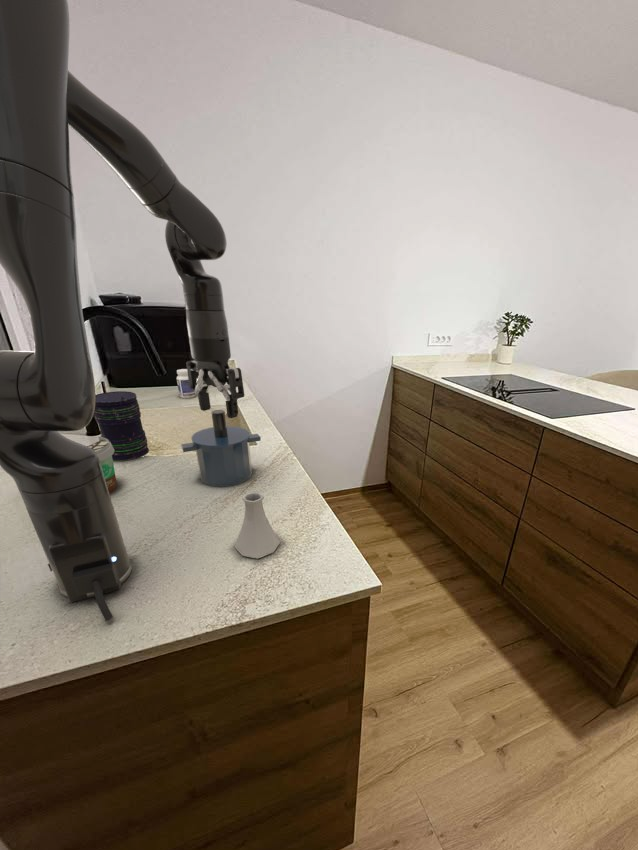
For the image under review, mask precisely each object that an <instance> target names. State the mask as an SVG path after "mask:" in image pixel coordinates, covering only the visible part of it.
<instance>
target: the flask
mask: <svg viewBox="0 0 638 850" xmlns="http://www.w3.org/2000/svg"><path fill="white" fill-rule="evenodd" d="M264 499H265V495H263V494H262V493H261V492H257V491H251V492H248V493H246V494H244V496H242V501H243V502H244V516H243V517H244V518H243V520H242V524H241V527H240V530H239V534H238V537H237V539H236V543H235V546H234V548H235V549H236V550H237V551H238V552H239V554H240V555H241V557H247V558H253V559H257V560H259V559H260V558H263V557H266V556H268V555H270V554H273V553H274V552H275V551H276V550H277V547H279V545H280V544H281V541H280V539H279V537H278V536H277V534H276V532H275V531H274V528H273V527H272V525H271V523H270V521H269V519H268V517H267V516H266V512H265V509H264V506H263V505H264V503H263V501H264Z"/></svg>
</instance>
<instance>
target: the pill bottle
mask: <svg viewBox="0 0 638 850" xmlns="http://www.w3.org/2000/svg"><path fill="white" fill-rule="evenodd" d="M176 374H177V376H176V383H177V389H178V395H179V397H180V398H182V399H191V398H194V397H196V395H197V393H196V392H195V390H194V389H190V387H189V380H188V372H187V368H181V369H180V368H179V369H177V370H176Z"/></svg>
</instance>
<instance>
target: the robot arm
mask: <svg viewBox="0 0 638 850" xmlns="http://www.w3.org/2000/svg"><path fill="white" fill-rule="evenodd" d="M69 52H70V10H69V3H68V0H0V266H1V267H2V268H3V270H4V271H5V273H6V274H7V275H8V277H9V278H10V279H11V281H12V282H13V284H14V286H16V288H17V289H18V291H19V293H20V294H21V296H22V299H23V300H24V302H25V303H24V304H25V305H26V308H27V311H28V314H29V317H30V322H31V328H32V334H33V335H32V336H33V341H34V342H33V343H34V344H33V345H34V351H30V350H28V351H27V350H23V351H22V350H0V467H1V469H2V470H3V471H4V472H6V474H7V475H9V476H10V477H11V478H12V479H13V481H14V482H15V485H16V487H17V491H18V492H19V494H20V496H21V499H22V502H23V504H24V505H25V509H26V511H27V513H28V516H29V519H30V521H31V523H32V525H33V528H34V530H35V533H36V535H37V538H38V540H39V542H40V545H41V547H42V550H43V552H44V554H45V557H46V559H47V561H48V564H47V567H48V568H49V571H50V572H52V573H53V575H54V578H55V579H56V582H57V587H58V589H59V592H60V593H61V595H63V596H64V597H66V598H68V601H69V603H75V602H78V601H82V600H86V599H89V598H94V599H95V601H96V604H97V606H98V608H99V611H100V613H101V615H102V616H103V618H104V620H105V622H107V621H109V620H111V619H113V618H114V616H113V614H112V612H111V610H110V608H109V606H108V603H107V602H106V599H105V596H104V594H107V593H111V592H114V591H115V592H116V591H118V590H120V589H121V587H122V586H121V585H122V584H123V583H124V582H125V581H126V580H127V579H128V578H129V576H130V575H131V573H132V571H133V566H132V565H133V564H132V561H131V559H130V558H129V553H128V551H127V547H126V545H125V541H124V538H123V535H122V532H121V528H120V524H119V522H118V521H119V520H118V518H117V515H116V511H115V508H114V505H113V502H112V499H111V495H110V494H111V493H109V491H108V488H107V484H106V481H105V477H104V474H103V471H102V467H101V463H100V460H99V457H98V455H97V453H96V452H95V451H94V450H93V449H91V448H89V447H87V446H88V445H85V444H82V443H79V442H76V441H74V440H72V439H70V438H68V437H66V436H64V435H63V434H61V432H75V431H81V430H83V429H85V428H86V427H87V426H89V424H90V423H91V421H92V419H93V418H94V410H95V401H96V395H97V394H96V384H95V377H94V371H93V365H92V357H91V354H90V348H89V342H88V335H87V330H86V324H85V318H84V312H83V305H82V304H83V303H82V295H81V285H80V284H81V283H80V275H79V261H78V260H79V259H78V241H77V240H78V239H77V238H78V237H77V222H76V221H77V220H76V219H77V218H76V208H75V195H74V187H73V179H72V168H71V167H72V166H71V149H70V148H71V147H70V133H69V132H70V131H69V130H70V129H72V131H73V132H75V133H76V135H78V136H79V137H80V138H81V139H82V140H83V141H84V142H85V143H86V144H87V145H88V146H89V147H90V148H91V149H92V150H93V151H94V152H95V153H96V154H97V155H98V156H99V157H100V158H101V159H102V160H103V162H105V163H106V165H107V166H108V167H109V168H110V169H111V170H112V171H113V173H115V175H116V176H117V177H118V178H119V179H120V181H121V182H122V183H123V184H124V186H126V187H127V189H128V190H129V191H130V192H131V193H132V195H133V196H134V197H135V198H136V199H137V200H138V202H139V203H140V204H141V205H142V206H143V207H144V208H145V209H146V210H147V212H148V213H150V214H151V215H152V216H153V217H155V218H158V219H162V220H165V221H167V222H166V225H165V229H164V237H165V239H164V240H165V244H166V248H167V251H168V253H169V256H170V258H171V260H172V264H173V266H174V269H175V272H176V274H177V276H178V278H179V281H180V283H181V286H182V292H183V298H184V306H185V312H186V313H185V317H186V319H185V320H186V328H187V335H188V342H189V347H190V355H191V358H192V360H187V361H186V369H187V372H188V380H189V387H190V389H194V390H195V394H196V395H197V399H198V404H199V409H200V410H201V411H202V412H206V411H209V410H211V408H212V406H211V398H210V392H208V391H209V389H210V387H211V386H212V387H214V388H217V390H218V392H220V393H222V396H223V397H224V399H225V408H226V417H227V418H228V419H234V418H237V417H238V415H239V407H238V399H243V398H244V397H245V388H244V382H243V375H242V369H241V368H240V367H233V368H230V366H229V360H230V359H231V357H232V353H231V345H230V335H229V327H228V326H229V325H228V320H227V316H226V310H225V302H224V294H223V287H222V283H221V280H220V279H219V278H218V277H216V276H214V275H211V274H208V273H207V272H206V270H205V268H204V266H203V263H202V261H216V260H218V259H221V258H222V257H223V256H225V253H226V252H227V251H226V250H227V235H226V232H225V230H224V228H223V226H222V224H221V222H220V220H219V218H218V217H217V216H216V215H215V213H213V211H211V210H210V208H208V206H207V205H206V204H204V203H203V201H201V200H200V199H199V198H198V197H197V196H196V195H195V194H194V193H193V192H192V191H191V190H190V189H188V188H187V187H186V186H185V185H184V184H183V183H181V181H180V180H179V179H178V177H177V176H176V174H175V173H174V171H173V170H172V168H171V167H170V166H169V164H168V163H167V162H166V160H165V158H164V157H163V156H162V154H161V153H160V152H159V149H157V148H156V146H155V145H154V144H153V143H152V142H151V140H150V139H149V138H148V137H147V136H146V135H145V134H144V133H143V132H142V131H141V130H140V129H139V128H138V127H137V126H136V125H135V124H134V123H132V122H131V121H130V120H128V119H127V118H126V117H125V116H124V115H122V114H121V113H120V112H119V111H117V110H116V109H114V107H112V106H110V105H109V104H108V103H106V102H105V101H104V100H102V99H101V98H100V97H99V96H98V95H96V93H94V92H92V90H90V89H89V88H88V87H87V86H86V85H85V84H83V82H81V81H80V80H79V79H78V78H77V77H76V76H75V75H74V74H72V73H71V71H69V54H70V53H69ZM69 128H70V129H69ZM195 381H196V382H195ZM59 432H60V433H59Z"/></svg>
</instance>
